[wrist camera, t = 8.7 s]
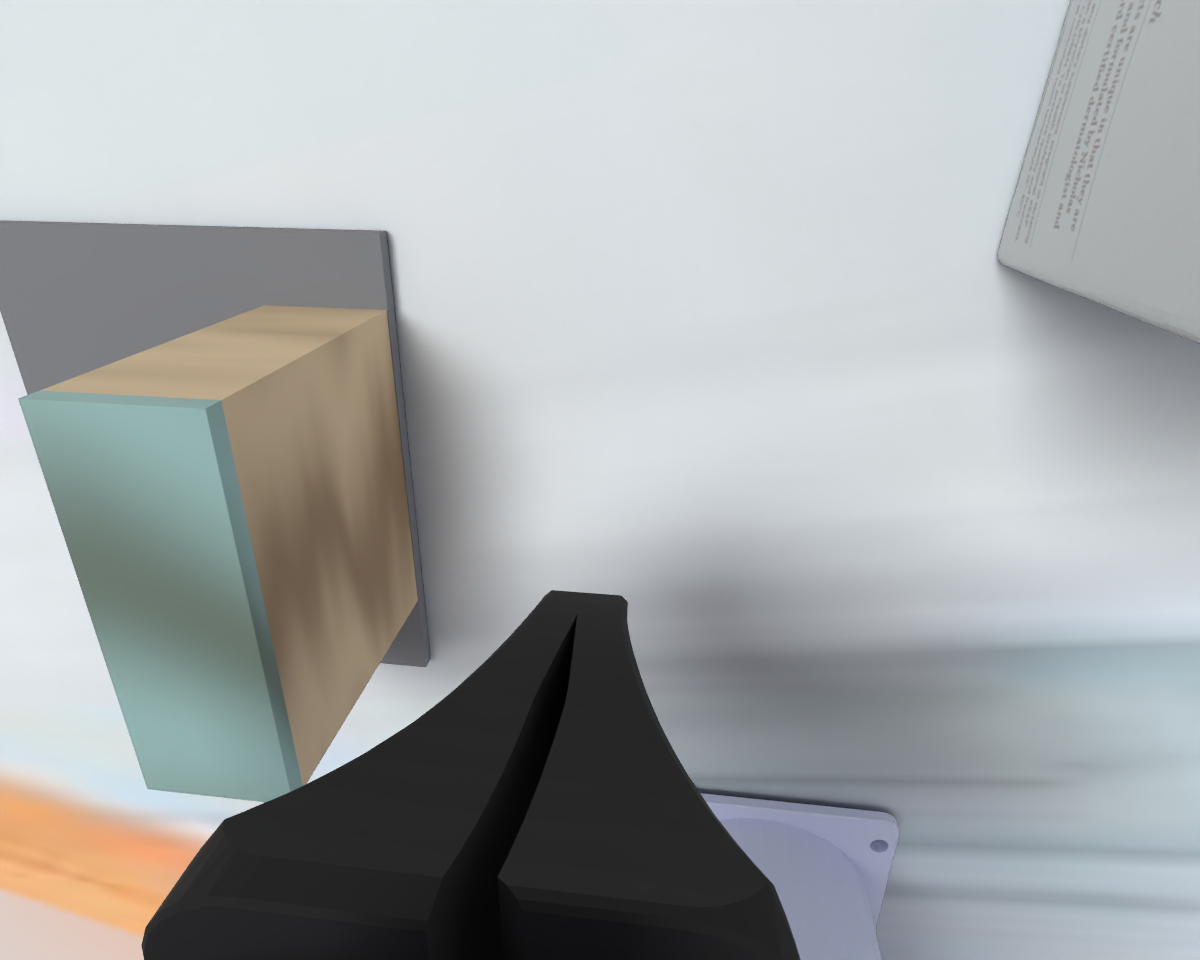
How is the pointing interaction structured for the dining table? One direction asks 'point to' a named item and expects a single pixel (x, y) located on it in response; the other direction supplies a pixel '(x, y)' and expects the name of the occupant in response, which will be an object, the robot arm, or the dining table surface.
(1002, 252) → the supplement box
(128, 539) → the slab
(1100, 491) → the dining table surface
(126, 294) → the mat
